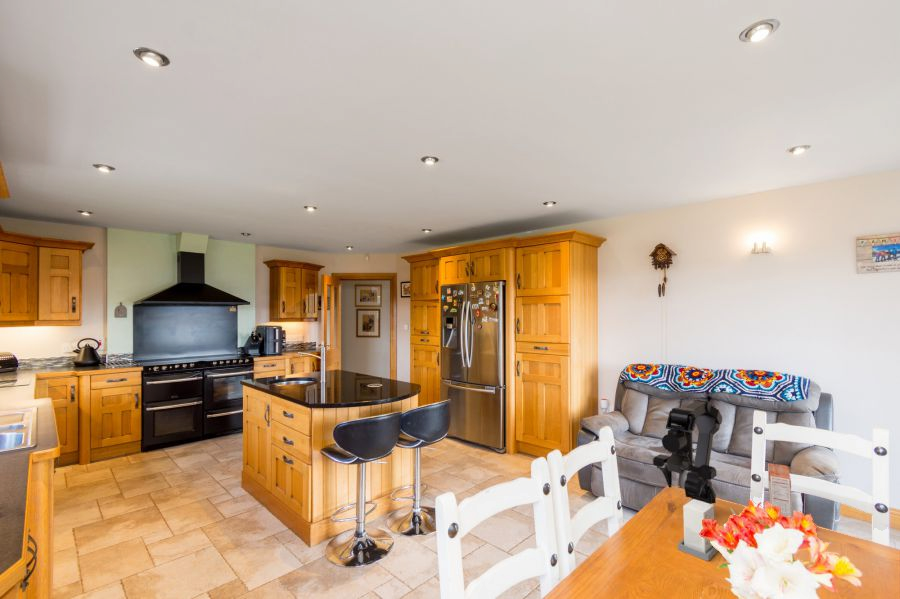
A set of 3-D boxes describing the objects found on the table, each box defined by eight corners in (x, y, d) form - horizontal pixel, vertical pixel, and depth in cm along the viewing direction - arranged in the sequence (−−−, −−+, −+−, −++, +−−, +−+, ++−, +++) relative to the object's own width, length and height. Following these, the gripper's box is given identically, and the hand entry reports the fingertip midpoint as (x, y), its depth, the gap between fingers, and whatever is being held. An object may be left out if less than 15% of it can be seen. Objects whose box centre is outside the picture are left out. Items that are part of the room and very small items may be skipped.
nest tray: (691, 537, 142) (691, 531, 142) (721, 547, 136) (721, 542, 136) (677, 549, 135) (677, 543, 135) (708, 561, 128) (708, 555, 128)
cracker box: (769, 521, 153) (767, 462, 153) (790, 526, 149) (789, 465, 150) (770, 538, 141) (768, 474, 142) (793, 543, 138) (791, 478, 138)
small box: (693, 538, 140) (693, 498, 141) (715, 546, 135) (714, 504, 136) (683, 547, 135) (682, 505, 136) (705, 555, 130) (704, 512, 131)
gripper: (645, 444, 150) (646, 489, 149) (704, 457, 135) (705, 507, 135) (659, 438, 157) (660, 481, 156) (716, 450, 143) (717, 497, 142)
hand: (684, 491), depth 147 cm, fingers open, 9 cm apart
